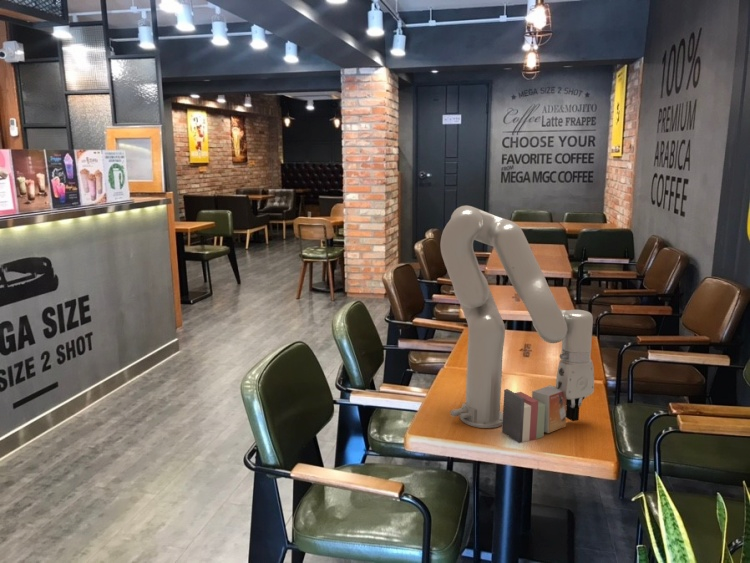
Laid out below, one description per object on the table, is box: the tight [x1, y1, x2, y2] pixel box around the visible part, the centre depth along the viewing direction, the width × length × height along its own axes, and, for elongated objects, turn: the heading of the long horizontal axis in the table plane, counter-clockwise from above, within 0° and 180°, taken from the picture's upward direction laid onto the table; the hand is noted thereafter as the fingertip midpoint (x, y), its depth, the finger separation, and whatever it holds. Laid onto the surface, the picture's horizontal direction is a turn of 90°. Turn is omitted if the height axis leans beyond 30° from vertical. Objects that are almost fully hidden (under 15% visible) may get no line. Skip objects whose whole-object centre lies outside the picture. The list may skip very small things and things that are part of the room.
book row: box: [501, 388, 545, 444], centre depth 153 cm, size 8×7×12 cm
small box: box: [531, 384, 567, 434], centre depth 158 cm, size 8×6×10 cm
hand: (572, 418), depth 161 cm, fingers closed
